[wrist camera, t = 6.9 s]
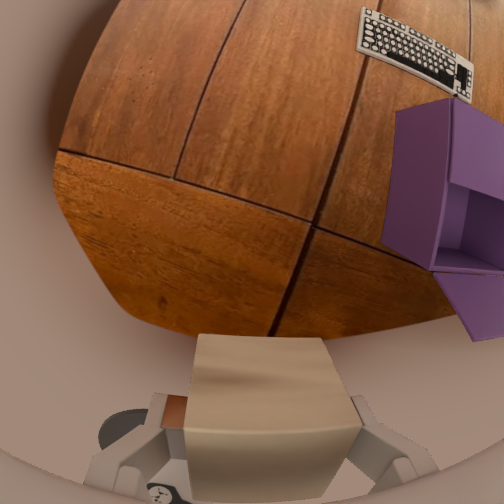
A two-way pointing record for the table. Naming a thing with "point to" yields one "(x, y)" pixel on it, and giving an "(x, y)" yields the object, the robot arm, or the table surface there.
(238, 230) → the table surface
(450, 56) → the keyboard
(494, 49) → the table surface
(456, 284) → the flap
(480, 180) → the box
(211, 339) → the block
